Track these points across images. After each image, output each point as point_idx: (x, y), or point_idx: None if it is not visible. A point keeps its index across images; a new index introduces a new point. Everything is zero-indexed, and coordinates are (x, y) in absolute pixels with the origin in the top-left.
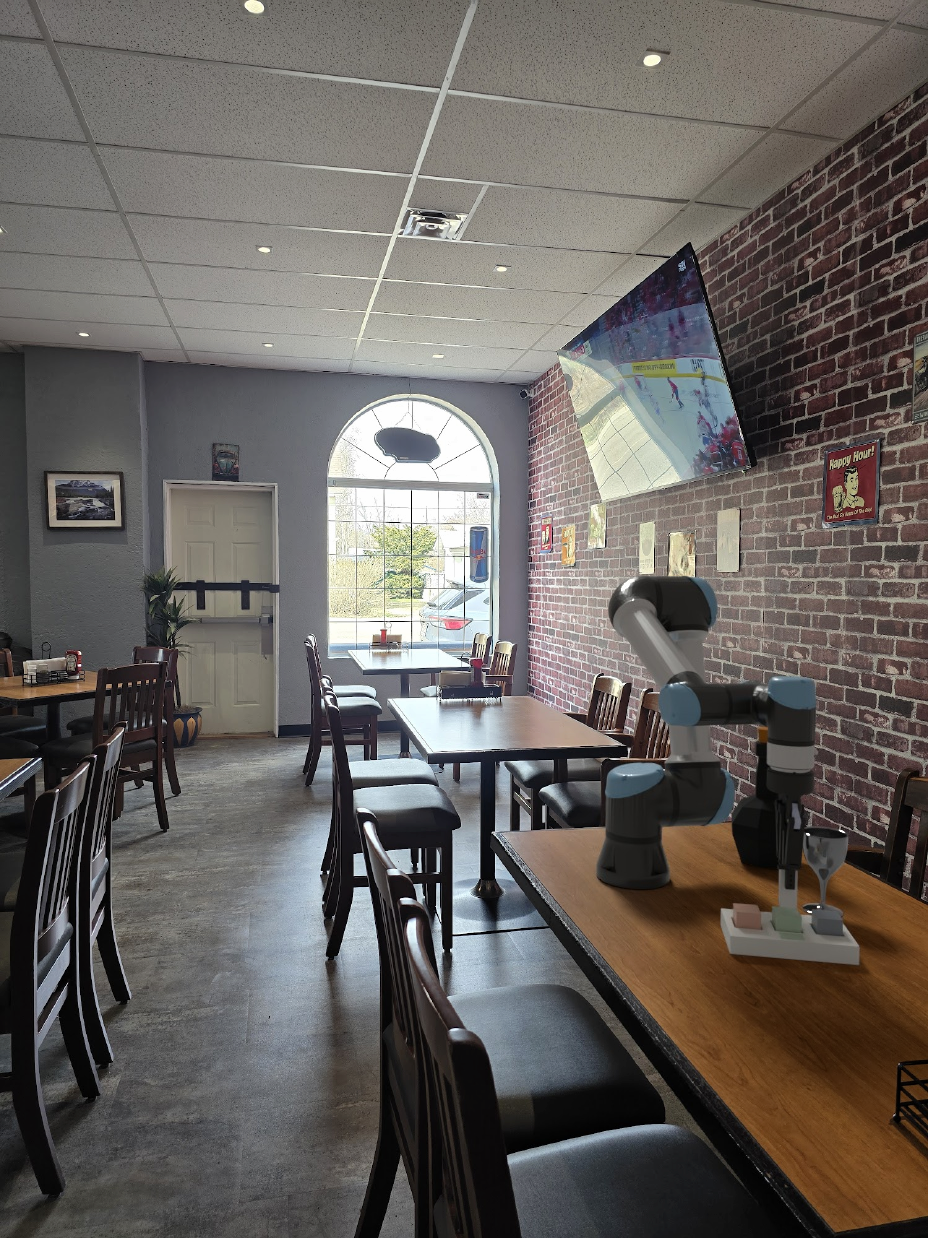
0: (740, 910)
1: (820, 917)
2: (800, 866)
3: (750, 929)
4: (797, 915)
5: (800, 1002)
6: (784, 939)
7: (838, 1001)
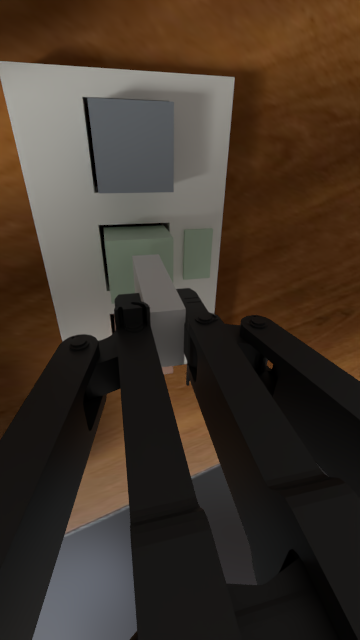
0: (162, 367)
1: (165, 181)
2: (277, 327)
3: None
4: (165, 248)
5: (351, 255)
6: (213, 272)
7: (357, 192)
